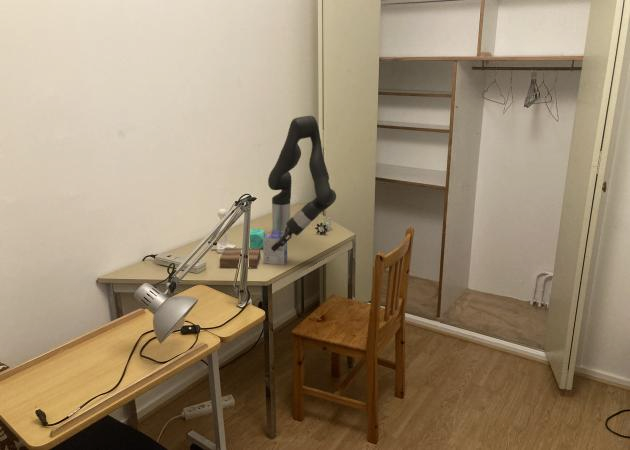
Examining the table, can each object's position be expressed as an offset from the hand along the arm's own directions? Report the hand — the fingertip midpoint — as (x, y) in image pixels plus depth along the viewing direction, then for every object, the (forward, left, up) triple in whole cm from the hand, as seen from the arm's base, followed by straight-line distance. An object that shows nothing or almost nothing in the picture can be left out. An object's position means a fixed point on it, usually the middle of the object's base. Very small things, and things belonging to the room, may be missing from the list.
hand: (273, 246), depth 235 cm
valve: (-45, +23, -8) cm, 51 cm away
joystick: (-14, -25, -8) cm, 30 cm away
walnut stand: (0, -15, -7) cm, 16 cm away
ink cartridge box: (0, +1, -8) cm, 8 cm away
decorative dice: (-20, -10, -8) cm, 24 cm away
